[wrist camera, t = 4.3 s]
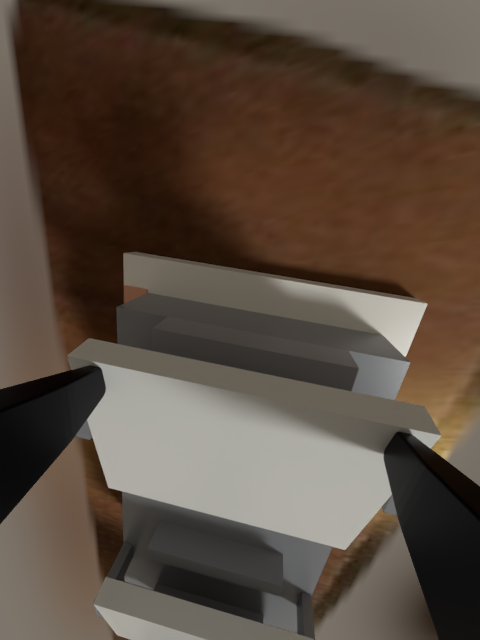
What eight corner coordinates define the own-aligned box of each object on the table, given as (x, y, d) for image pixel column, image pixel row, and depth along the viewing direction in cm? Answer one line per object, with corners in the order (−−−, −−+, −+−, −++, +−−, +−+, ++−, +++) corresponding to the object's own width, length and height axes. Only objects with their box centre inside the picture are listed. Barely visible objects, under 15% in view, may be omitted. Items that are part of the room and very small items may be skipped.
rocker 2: (282, 646, 17) (281, 688, 16) (130, 600, 18) (117, 635, 17) (313, 620, 13) (315, 673, 11) (112, 561, 14) (93, 604, 12)
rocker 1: (339, 508, 12) (345, 549, 11) (127, 455, 13) (108, 487, 12) (415, 391, 8) (441, 435, 7) (100, 329, 9) (66, 355, 8)
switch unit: (305, 578, 22) (316, 728, 15) (136, 531, 24) (79, 649, 17) (415, 297, 13) (552, 361, 7) (135, 251, 15) (15, 265, 8)
